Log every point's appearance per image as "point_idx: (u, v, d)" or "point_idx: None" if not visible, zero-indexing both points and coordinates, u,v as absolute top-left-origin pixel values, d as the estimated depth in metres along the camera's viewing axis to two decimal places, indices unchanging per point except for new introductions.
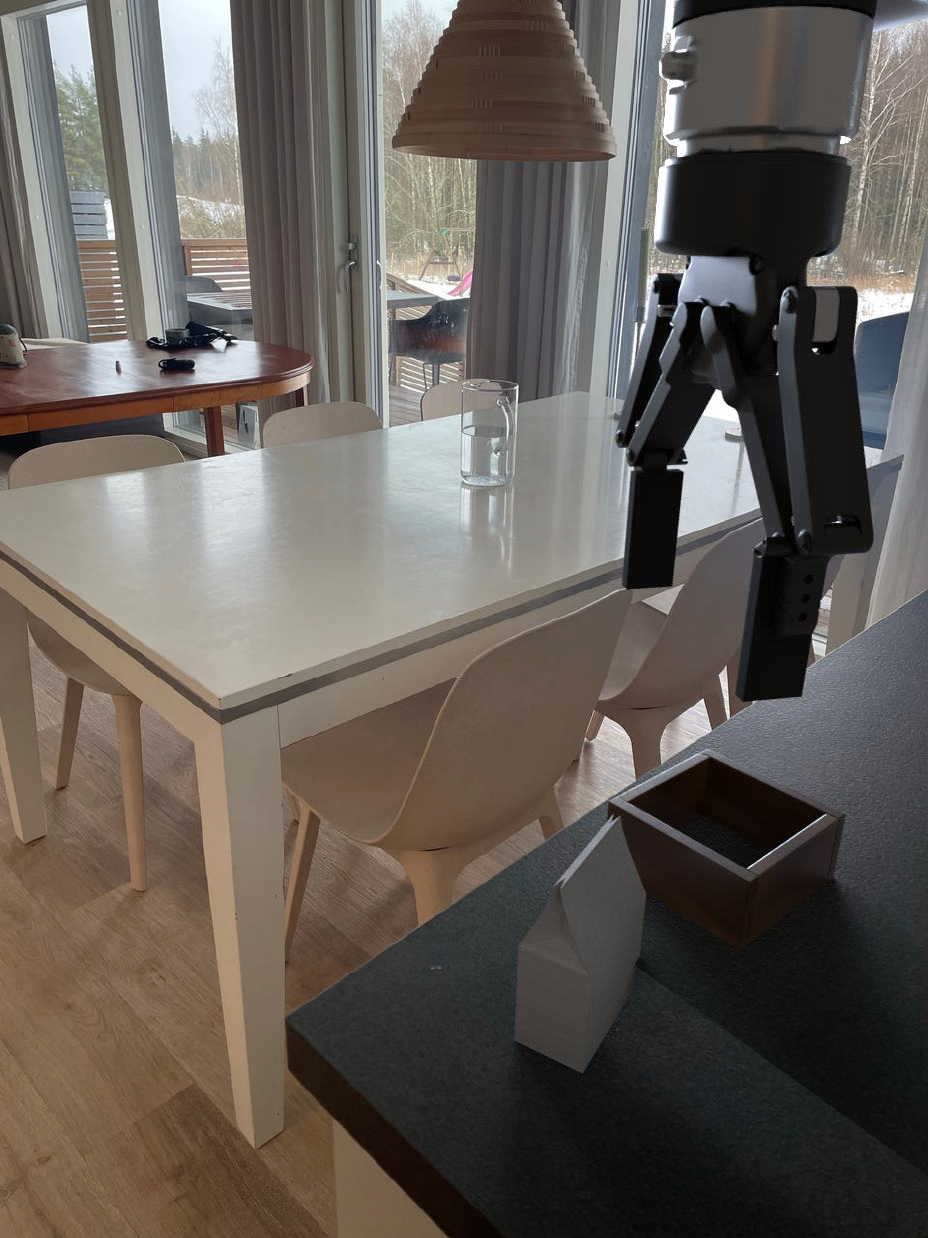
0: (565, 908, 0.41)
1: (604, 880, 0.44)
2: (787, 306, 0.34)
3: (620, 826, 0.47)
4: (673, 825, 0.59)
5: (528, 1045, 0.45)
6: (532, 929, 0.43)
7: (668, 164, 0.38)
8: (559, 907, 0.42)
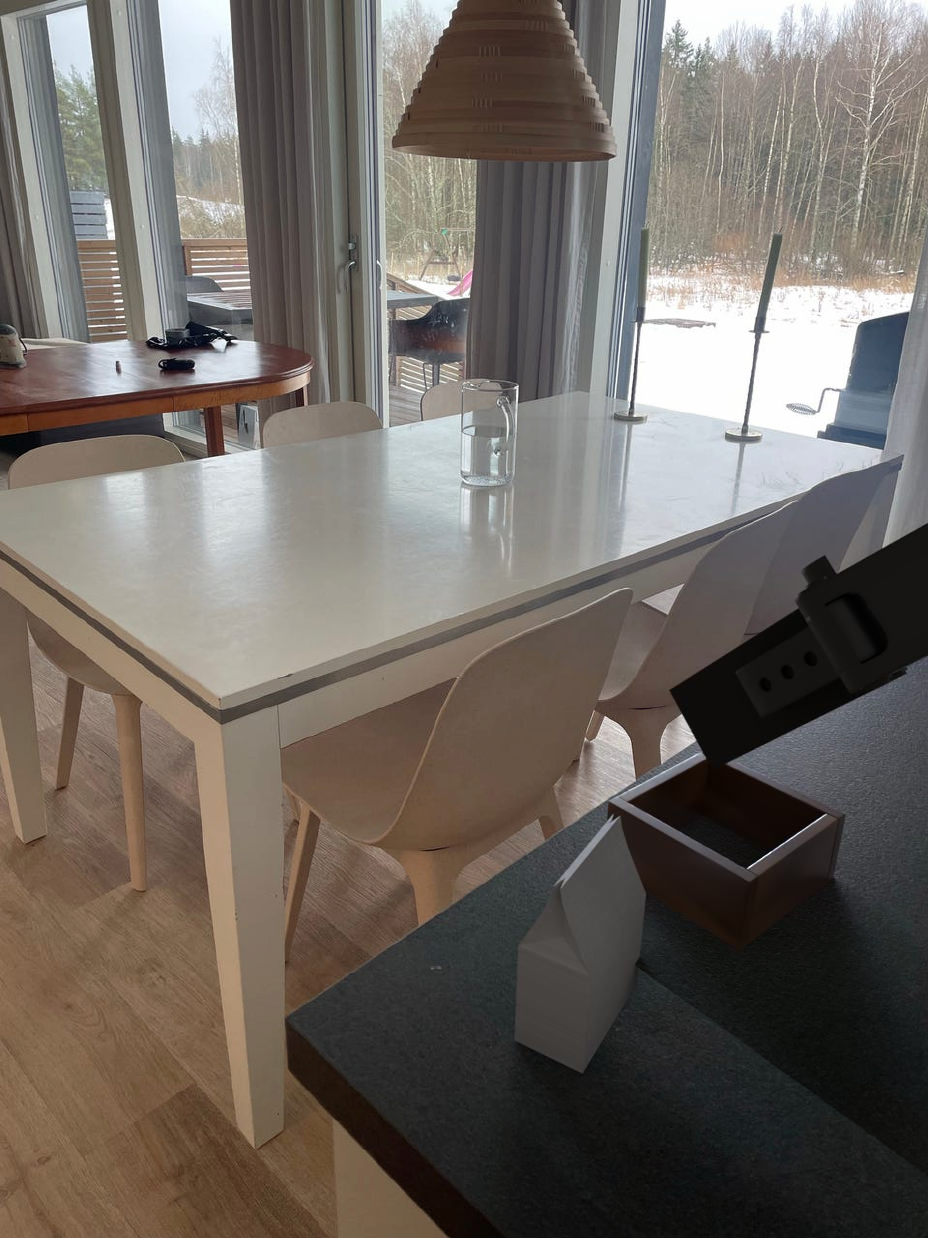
0: (565, 908, 0.41)
1: (604, 880, 0.44)
2: None
3: (620, 826, 0.47)
4: (673, 825, 0.59)
5: (528, 1045, 0.45)
6: (532, 929, 0.43)
7: None
8: (559, 907, 0.42)
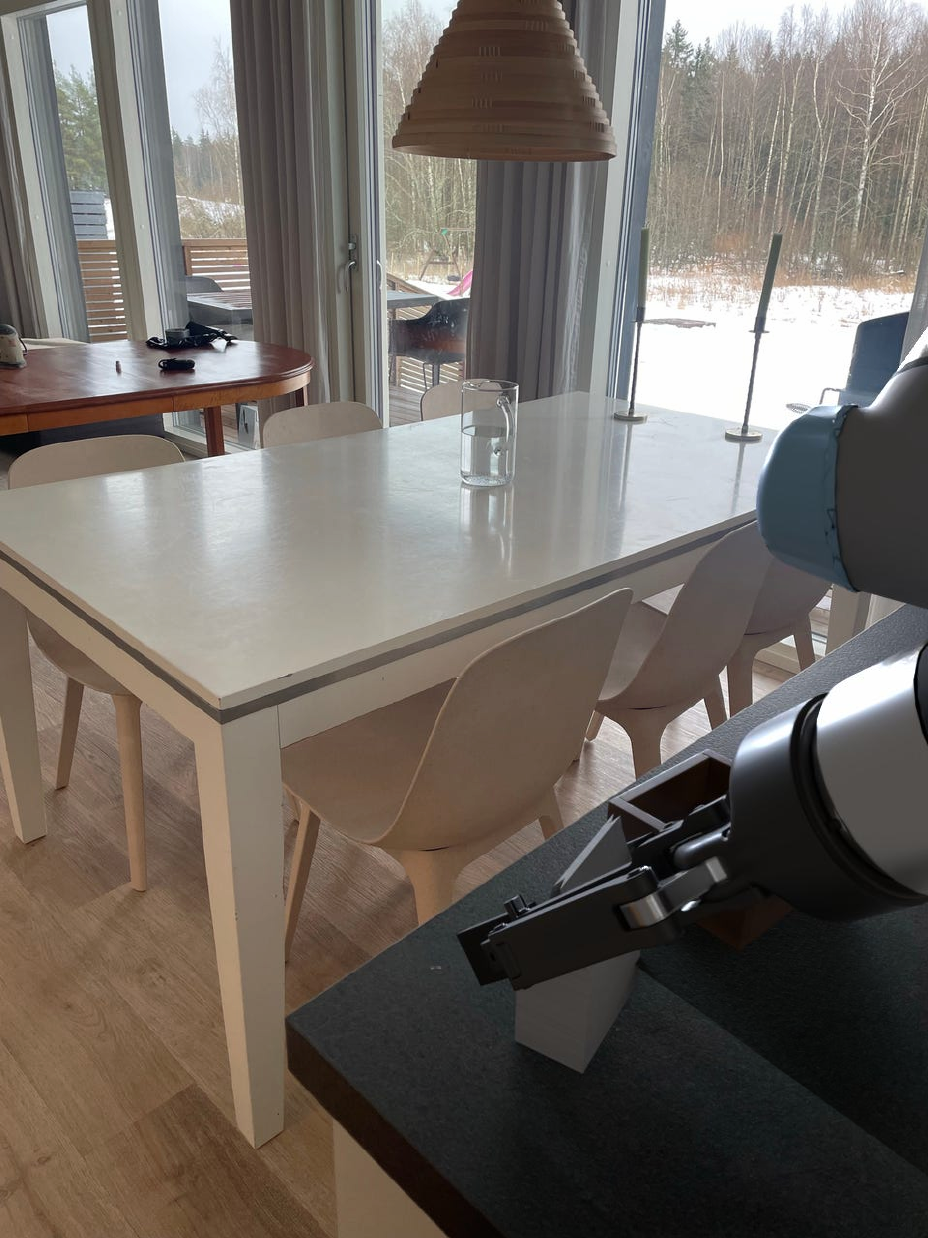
0: None
1: None
2: None
3: (620, 826, 0.47)
4: None
5: (528, 1045, 0.45)
6: None
7: None
8: None
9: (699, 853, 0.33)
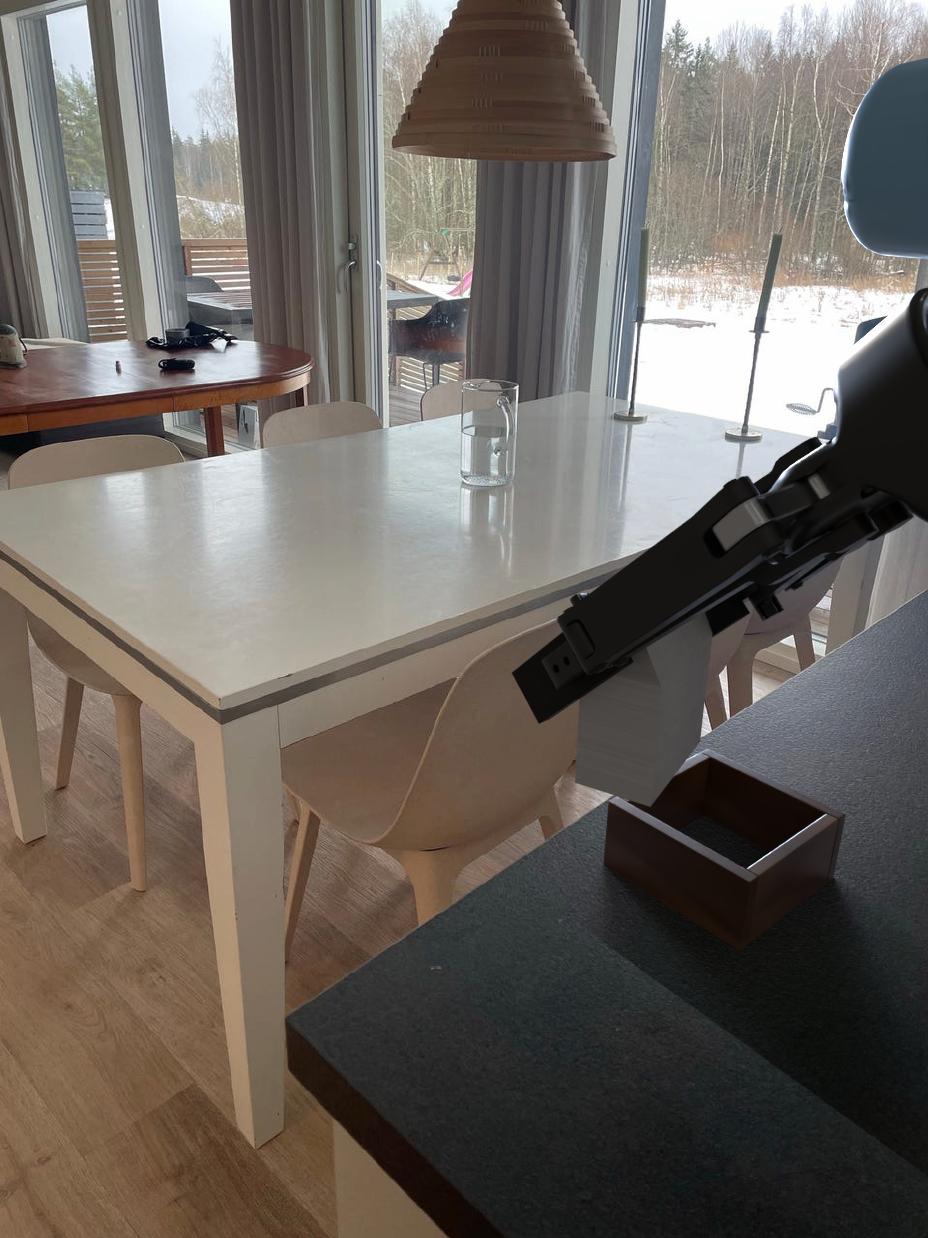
0: None
1: None
2: None
3: None
4: (673, 825, 0.59)
5: (590, 785, 0.43)
6: None
7: None
8: None
9: (800, 467, 0.30)
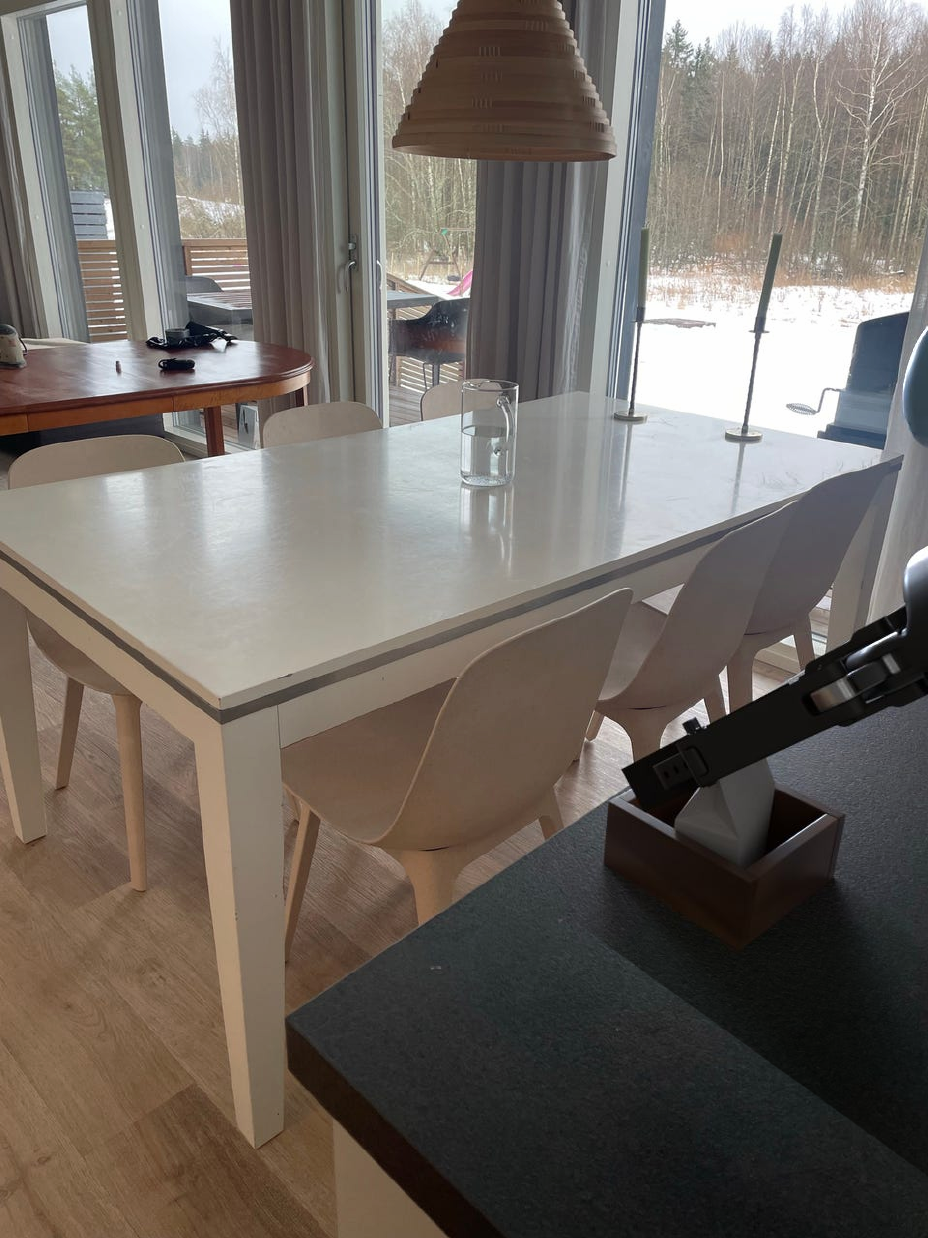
0: (721, 783, 0.50)
1: (745, 767, 0.53)
2: None
3: None
4: (673, 825, 0.59)
5: None
6: (689, 803, 0.51)
7: None
8: None
9: (878, 649, 0.40)
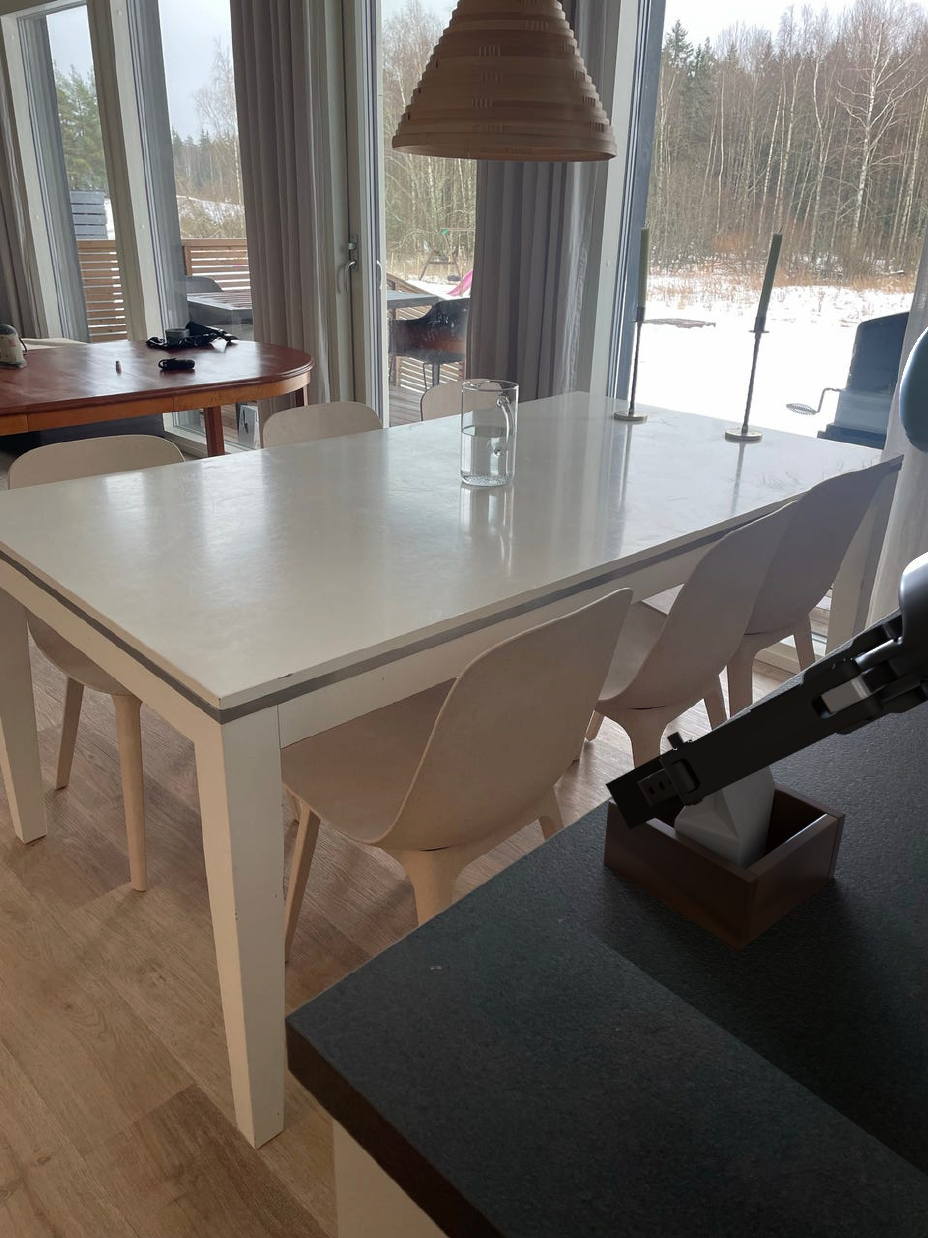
0: None
1: None
2: None
3: None
4: (673, 825, 0.59)
5: None
6: None
7: None
8: None
9: (874, 657, 0.40)
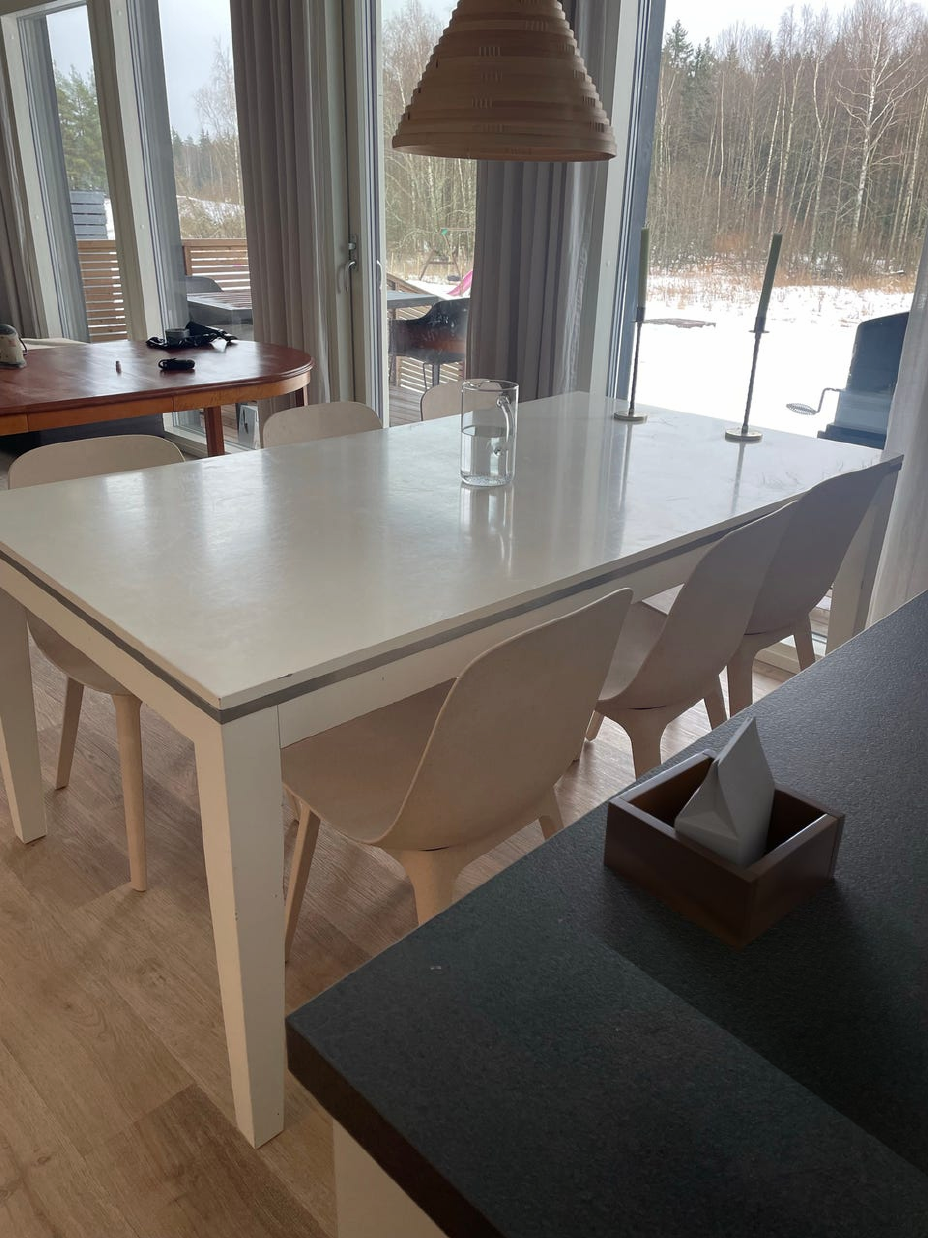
0: (721, 783, 0.50)
1: (745, 767, 0.53)
2: None
3: (755, 725, 0.55)
4: (673, 825, 0.59)
5: None
6: (689, 804, 0.51)
7: None
8: (713, 784, 0.51)
9: None
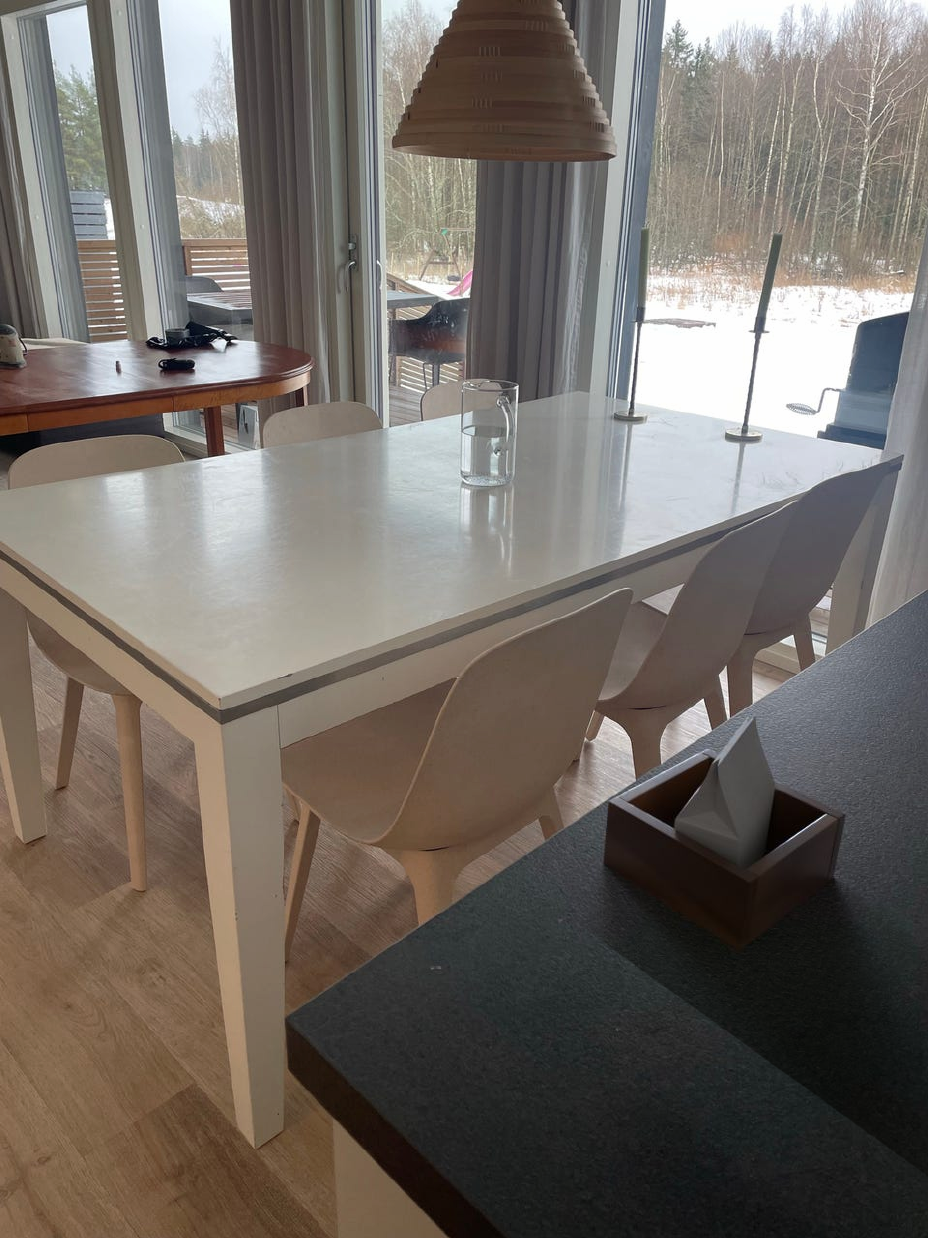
0: (721, 783, 0.50)
1: (745, 767, 0.53)
2: None
3: (755, 725, 0.55)
4: (673, 825, 0.59)
5: None
6: (689, 804, 0.51)
7: None
8: (713, 784, 0.51)
9: None
